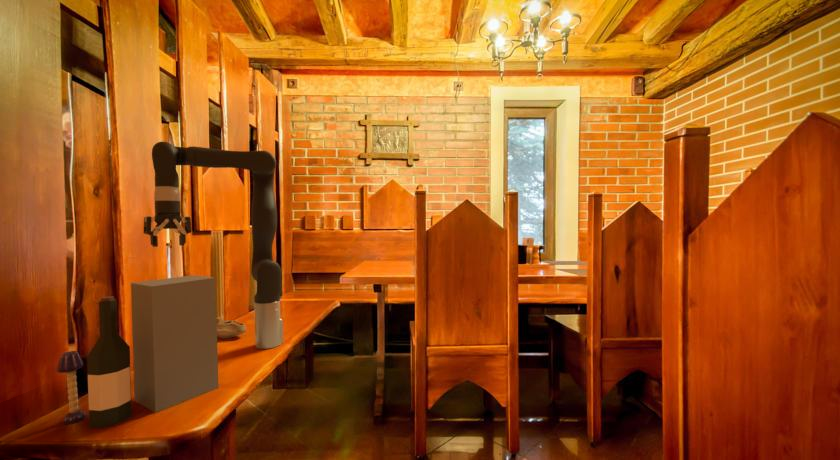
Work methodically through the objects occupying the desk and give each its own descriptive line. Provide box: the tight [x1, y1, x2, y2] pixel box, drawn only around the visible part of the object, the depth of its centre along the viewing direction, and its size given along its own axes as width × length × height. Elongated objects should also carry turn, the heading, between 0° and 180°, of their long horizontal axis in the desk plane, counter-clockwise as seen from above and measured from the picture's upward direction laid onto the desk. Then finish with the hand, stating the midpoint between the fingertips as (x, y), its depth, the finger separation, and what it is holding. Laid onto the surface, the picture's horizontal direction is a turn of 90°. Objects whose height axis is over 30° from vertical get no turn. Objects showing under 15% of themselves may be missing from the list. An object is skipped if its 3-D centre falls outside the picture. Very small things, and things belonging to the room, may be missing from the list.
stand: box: [130, 274, 219, 413], centre depth 102 cm, size 16×12×32 cm
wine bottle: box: [86, 295, 133, 429], centre depth 89 cm, size 8×8×30 cm
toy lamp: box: [56, 350, 87, 425], centre depth 89 cm, size 5×5×17 cm
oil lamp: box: [217, 316, 248, 339], centre depth 155 cm, size 11×15×8 cm
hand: (169, 246), depth 129 cm, fingers open, 8 cm apart
